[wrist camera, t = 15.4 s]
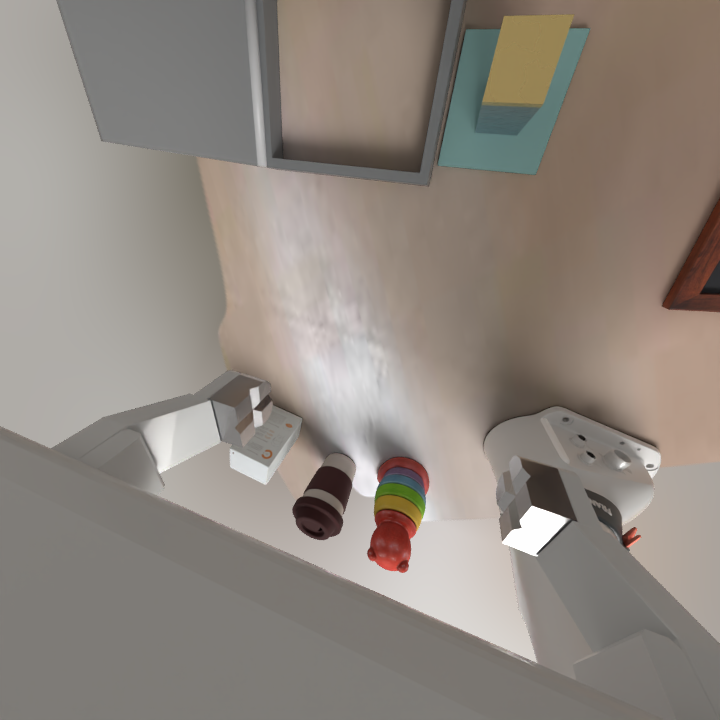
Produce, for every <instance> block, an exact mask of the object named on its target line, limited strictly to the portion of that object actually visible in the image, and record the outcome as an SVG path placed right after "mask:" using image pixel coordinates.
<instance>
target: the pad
mask: <svg viewBox="0 0 720 720" xmlns="http://www.w3.org/2000/svg"><path fill="white" fill-rule="evenodd" d="M500 30H501V29H466V33H465V37H464V42H463V47H462V52H461V56H460V61H459V66H458V71H457V75H456V80H455V85H454V90H453V94H452V99H451V104H450V109H449V114H448V118H447V123H446V128H445V133H444V137H443V142H442V147H441V152H440V156H439V161H438V166H446V167H457V168H467V169H478V170H489V171H499V172H510V173H520V174H531V175H536V173H537V170H538V167H539V165H540V162H541V159H542V157H543V154H544V151H545V149H546V146H547V143H548V141H549V138H550V135H551V133H552V130H553V127H554V125H555V122H556V119H557V116H558V114H559V111H560V108H561V106H562V103H563V100H564V98H565V95H566V92H567V90H568V87H569V84H570V82H571V79H572V76H573V74H574V71H575V68H576V66H577V63H578V60H579V58H580V55H581V52H582V50H583V47H584V44H585V42H586V39H587V36H588V34H589V31H590V28H569V31H568V34H567V37H566V40H565V43H564V46H563V49H562V52H561V55H560V58H559V60H558V63H557V66H556V69H555V72H554V75H553V78H552V81H551V84H550V87H549V89H548V92H547V95H546V98H545V101H544V104H543V105H542V106H541V108H540V109H539V110H538V111H537V112H536V113H535V115H534V116H533V117H532V118H531V119H530V121H529V122H528V123H527V124H526V125H525V126H524V128H523V129H522V130H521V131H520V132H519V133H518V135H517V136H515V135H500V134H484V133H475V130H476V126H477V122H478V118H479V113H480V109H481V105H482V101H483V97H484V93H485V89H486V85H487V81H488V77H489V73H490V69H491V65H492V61H493V57H494V53H495V49H496V45H497V42H498V38H499V34H500Z"/></svg>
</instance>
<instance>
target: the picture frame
mask: <svg viewBox="0 0 720 720" xmlns="http://www.w3.org/2000/svg"><path fill="white" fill-rule="evenodd" d="M662 306H663V307H665V308H667V309H669V310H689V311H709V312H720V199H719V201H718V202H717V204H716V206H715V208H714V210H713V212H712V214H711V215H710V217H709V219H708V221H707V223H706V225H705V227H704V229H703V230H702V232H701V234H700V236H699V238H698V240H697V242H696V243H695V245H694V247H693V249H692V251H691V253H690V255H689V257H688V258H687V260H686V262H685V264H684V266H683V268H682V270H681V271H680V273H679V275H678V277H677V279H676V281H675V283H674V285H673V286H672V288H671V290H670V292H669V294H668V296H667V298H666V299H665V301H664V303H663V305H662Z"/></svg>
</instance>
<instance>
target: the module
mask: <svg viewBox="0 0 720 720" xmlns="http://www.w3.org/2000/svg"><path fill="white" fill-rule="evenodd" d="M573 17H574V14H572V15H527V16H504V18H503V22H502V26H501V30H500V34H499V38H498V42H497V45H496V49H495V53H494V57H493V61H492V65H491V69H490V73H489V77H488V81H487V85H486V89H485V93H484V97H483V101H482V105H481V109H480V113H479V118H478V122H477V126H476V130H475V133H484V134H500V135H515V136H517V135H518V133H519V132H520V131H521V130H522V129H523V128H524V126H525V125H526V124H527V123H528V122H529V121H530V119H531V118H532V117H533V116H534V115H535V113H536V112H537V111H538V110H539V109H540V108H541V106H542V105H543V104H544V101H545V98H546V95H547V92H548V89H549V87H550V84H551V81H552V78H553V75H554V72H555V69H556V66H557V63H558V60H559V58H560V55H561V52H562V49H563V46H564V43H565V40H566V37H567V34H568V31H569V28H570V26H571V23H572V20H573Z"/></svg>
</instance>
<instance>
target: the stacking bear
mask: <svg viewBox="0 0 720 720" xmlns="http://www.w3.org/2000/svg"><path fill="white" fill-rule="evenodd" d="M377 479H378V481H379V485H378V487H377V491H376V495H375V505H374V516H375V522H376V525H377V528H376V530H375V531H374V533H373V535H372V538H371V544H370V548H369V550H368V553H367V554H368V557H369V559H370V560H371V561H375V562H376V563H377V564H378V565H379V566H381V567H382V568H384V569H386V570H390V571H399V572H401V573H404V572H406V571H407V570H408V567H409V565H408V562H409V559H410V555H411V544H410V538H412V537H413V536H414V535H415V534H416V531H417V530H418V528H419V526H420V523H421V520H422V518H423V515H424V512H425V505H426V498H425V495H426V493H427V491H428V488H429V478H428V475H427V472H426V471H425V469H424V468H423V467H422V466H421V465H420V464H419V463H417V462H416V461H414V460H412V459H409V458H404V457H396V458H392V459H390V460H388V461H386V462H385V463H383V464H382V466H381V467H380V469H379V471H378V475H377Z"/></svg>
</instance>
